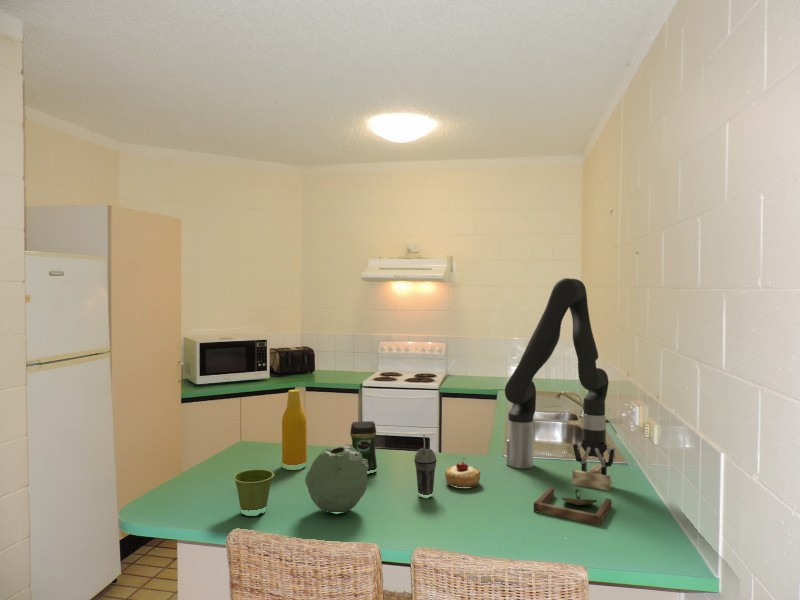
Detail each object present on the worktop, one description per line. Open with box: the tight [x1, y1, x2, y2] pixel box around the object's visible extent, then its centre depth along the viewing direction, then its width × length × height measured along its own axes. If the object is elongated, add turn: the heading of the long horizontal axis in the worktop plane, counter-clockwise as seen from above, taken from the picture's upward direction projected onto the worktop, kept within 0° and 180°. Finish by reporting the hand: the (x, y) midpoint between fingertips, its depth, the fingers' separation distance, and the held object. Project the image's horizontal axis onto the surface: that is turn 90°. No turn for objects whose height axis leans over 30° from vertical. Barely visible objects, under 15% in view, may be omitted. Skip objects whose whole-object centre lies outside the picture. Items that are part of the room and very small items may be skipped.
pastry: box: [444, 457, 481, 488], centre depth 186 cm, size 12×12×9 cm
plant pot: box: [232, 468, 275, 511], centre depth 162 cm, size 12×12×11 cm
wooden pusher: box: [572, 463, 612, 491], centre depth 187 cm, size 12×12×4 cm
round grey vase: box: [304, 443, 369, 513], centre depth 162 cm, size 16×19×20 cm
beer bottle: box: [281, 389, 308, 465], centre depth 205 cm, size 9×9×29 cm
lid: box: [560, 488, 598, 506], centre depth 166 cm, size 11×10×5 cm
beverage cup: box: [413, 434, 437, 495], centre depth 175 cm, size 7×7×20 cm
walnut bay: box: [533, 487, 612, 527], centre depth 164 cm, size 19×16×2 cm
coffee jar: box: [349, 420, 378, 471], centre depth 199 cm, size 10×8×19 cm
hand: (594, 475), depth 187 cm, fingers open, 5 cm apart
